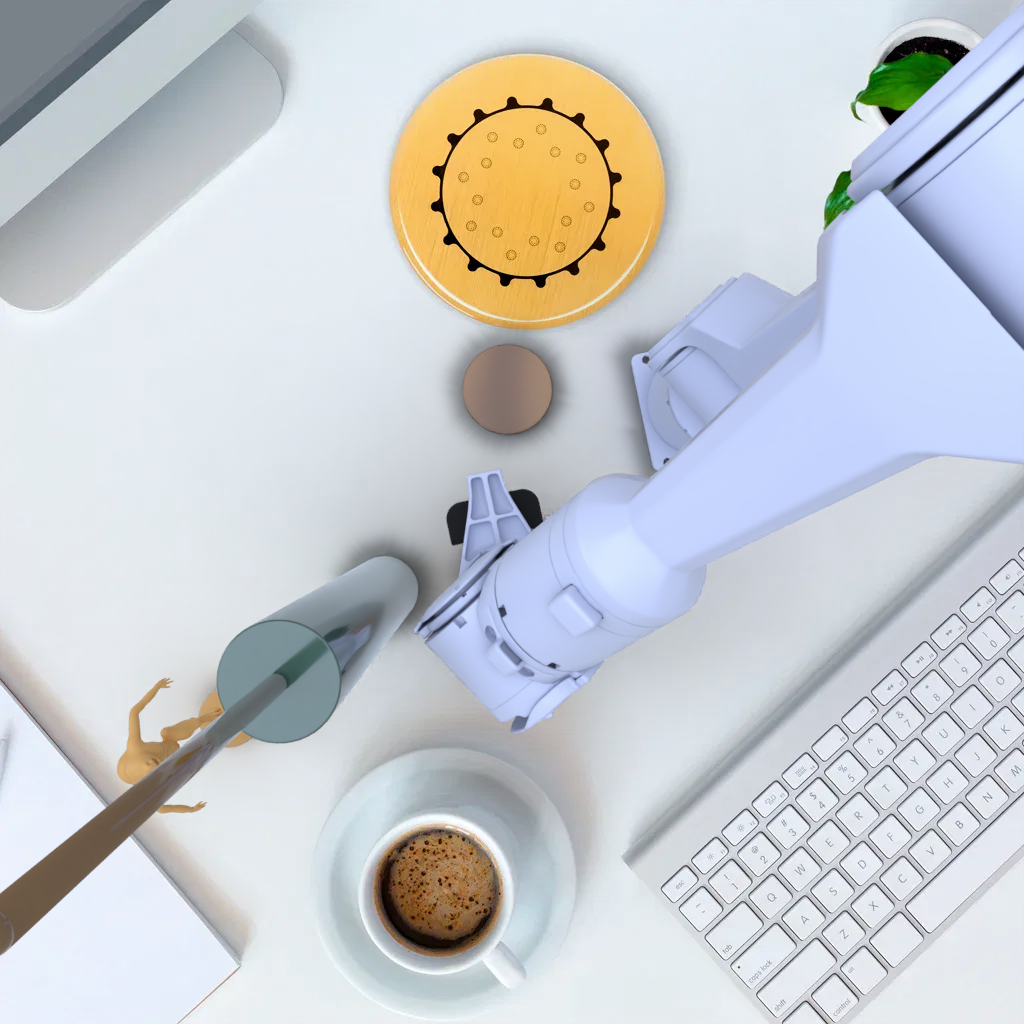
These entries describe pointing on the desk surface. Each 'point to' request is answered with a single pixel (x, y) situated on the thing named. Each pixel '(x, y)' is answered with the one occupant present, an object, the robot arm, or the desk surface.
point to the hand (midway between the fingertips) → (509, 580)
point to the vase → (240, 715)
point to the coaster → (507, 389)
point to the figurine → (166, 742)
